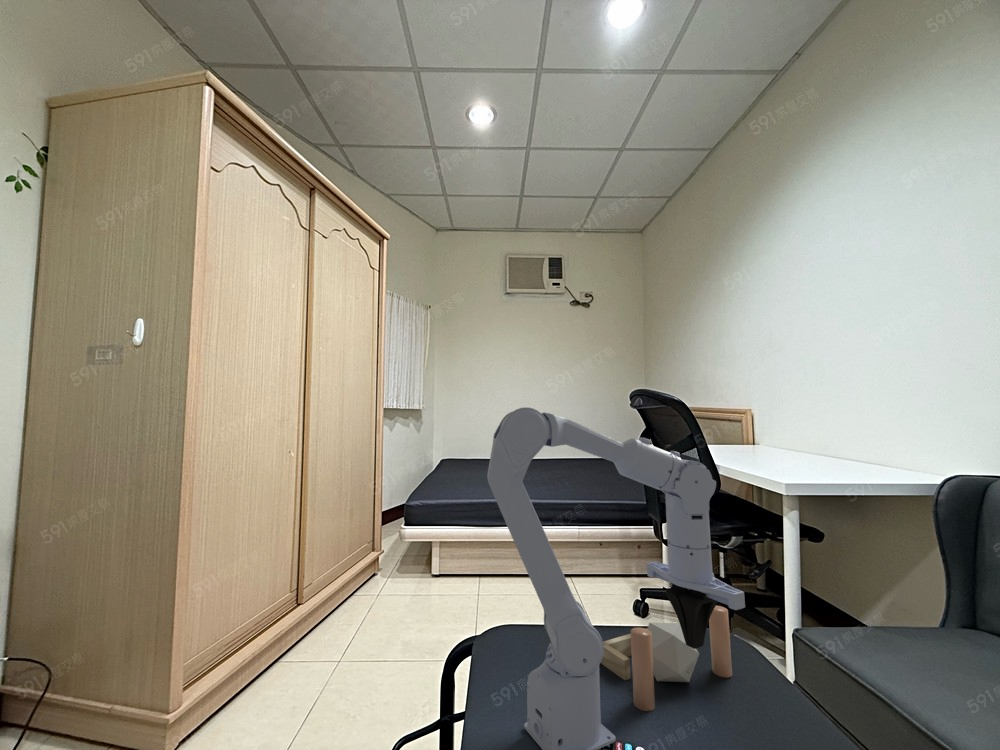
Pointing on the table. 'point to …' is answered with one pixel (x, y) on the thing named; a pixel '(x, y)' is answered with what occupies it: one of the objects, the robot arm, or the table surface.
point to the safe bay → (618, 655)
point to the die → (671, 653)
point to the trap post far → (720, 642)
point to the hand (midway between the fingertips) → (694, 645)
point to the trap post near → (642, 669)
